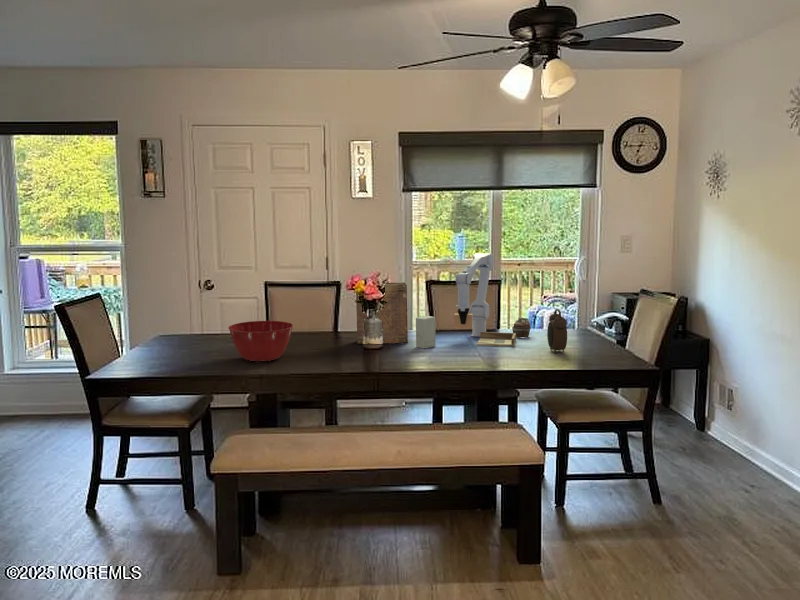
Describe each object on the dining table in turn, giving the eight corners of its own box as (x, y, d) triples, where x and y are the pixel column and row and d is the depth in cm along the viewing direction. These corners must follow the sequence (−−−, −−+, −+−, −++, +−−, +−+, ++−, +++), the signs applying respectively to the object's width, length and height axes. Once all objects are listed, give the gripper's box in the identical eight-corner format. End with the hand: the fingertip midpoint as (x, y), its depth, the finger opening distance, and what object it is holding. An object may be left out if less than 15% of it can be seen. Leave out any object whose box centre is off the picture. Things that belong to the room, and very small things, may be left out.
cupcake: (516, 334, 345) (516, 316, 344) (533, 336, 340) (533, 317, 338) (508, 337, 338) (508, 318, 336) (525, 339, 332) (526, 319, 331)
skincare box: (428, 344, 319) (427, 315, 317) (436, 346, 315) (436, 316, 313) (415, 347, 314) (415, 317, 312) (423, 349, 309) (423, 318, 307)
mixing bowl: (306, 358, 291) (305, 324, 289) (252, 369, 271) (250, 333, 269) (271, 350, 310) (270, 318, 308) (217, 359, 290) (216, 326, 288)
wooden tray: (480, 339, 332) (480, 331, 331) (515, 340, 328) (516, 333, 327) (476, 345, 316) (476, 337, 316) (513, 346, 312) (514, 338, 312)
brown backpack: (544, 348, 307) (545, 307, 304) (560, 348, 307) (560, 307, 304) (552, 355, 292) (553, 311, 290) (568, 355, 293) (569, 311, 290)
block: (454, 327, 329) (454, 313, 328) (472, 327, 327) (472, 313, 327) (454, 328, 324) (454, 314, 324) (472, 328, 323) (472, 314, 322)
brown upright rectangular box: (406, 340, 332) (405, 282, 328) (407, 343, 323) (407, 284, 319) (357, 341, 330) (355, 283, 327) (357, 344, 321) (356, 285, 317)
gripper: (456, 294, 332) (456, 320, 333) (454, 298, 317) (454, 325, 319) (470, 295, 331) (470, 321, 332) (469, 298, 316) (468, 325, 318)
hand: (463, 323), depth 326 cm, fingers closed on block, 4 cm apart
